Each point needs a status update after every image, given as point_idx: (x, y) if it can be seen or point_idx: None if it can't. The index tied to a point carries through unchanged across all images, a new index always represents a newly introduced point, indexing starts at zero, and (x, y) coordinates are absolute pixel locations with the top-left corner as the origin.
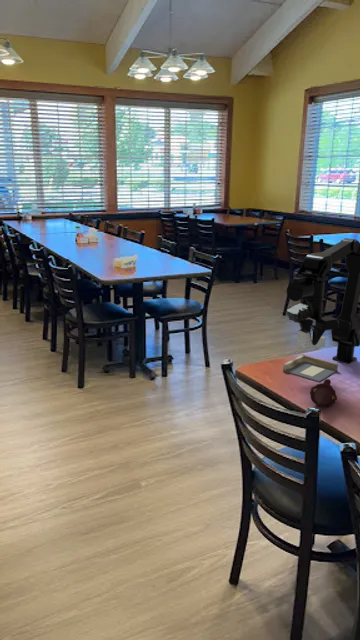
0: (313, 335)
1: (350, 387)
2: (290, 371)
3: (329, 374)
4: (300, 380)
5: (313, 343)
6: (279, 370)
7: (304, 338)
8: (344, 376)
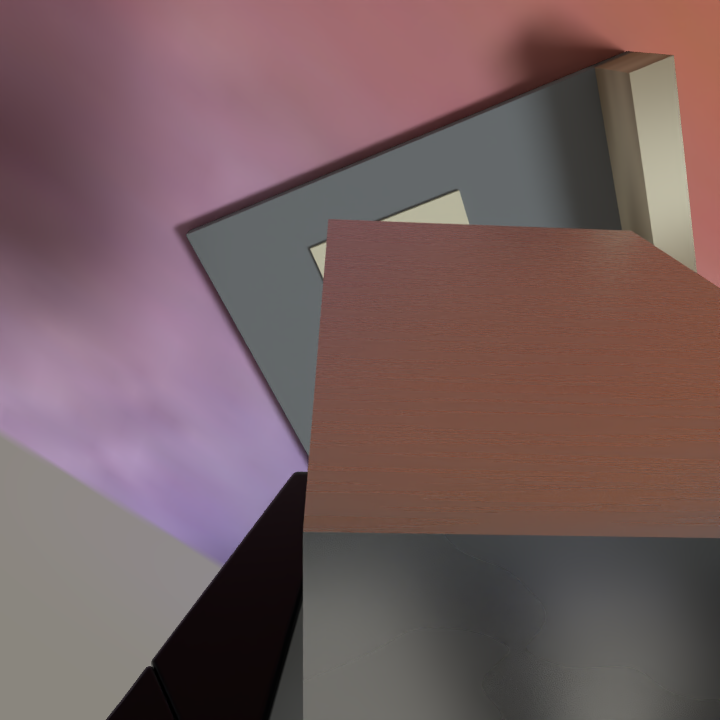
0: (210, 690)
1: (5, 405)
2: (548, 115)
3: (292, 422)
4: (305, 65)
5: (284, 492)
6: (674, 27)
7: (388, 354)
8: (233, 502)
